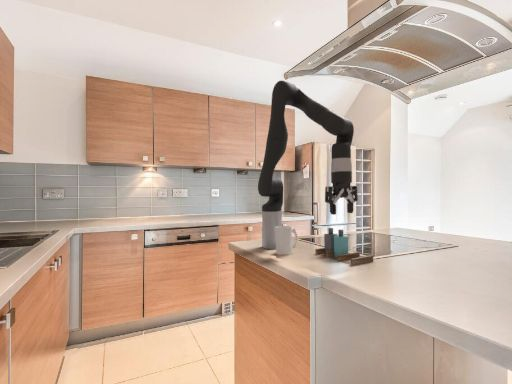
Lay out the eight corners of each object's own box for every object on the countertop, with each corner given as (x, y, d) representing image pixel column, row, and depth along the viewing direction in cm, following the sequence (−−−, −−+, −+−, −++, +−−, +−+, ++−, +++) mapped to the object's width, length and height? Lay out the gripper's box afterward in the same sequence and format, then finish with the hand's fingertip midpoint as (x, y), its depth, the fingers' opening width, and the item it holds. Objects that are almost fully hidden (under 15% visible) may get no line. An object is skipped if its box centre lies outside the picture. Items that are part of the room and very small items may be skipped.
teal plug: (334, 256, 108) (333, 229, 108) (341, 255, 110) (340, 228, 109) (341, 258, 105) (340, 230, 105) (348, 257, 106) (347, 230, 106)
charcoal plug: (324, 253, 113) (324, 228, 113) (331, 252, 115) (331, 227, 114) (330, 255, 110) (330, 229, 110) (337, 254, 111) (337, 228, 111)
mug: (281, 258, 111) (280, 228, 111) (272, 255, 117) (272, 226, 117) (302, 255, 116) (301, 226, 116) (293, 252, 122) (292, 224, 122)
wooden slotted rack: (315, 257, 113) (315, 249, 113) (334, 253, 118) (334, 246, 118) (352, 268, 96) (352, 259, 96) (373, 264, 100) (373, 255, 100)
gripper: (347, 171, 113) (348, 211, 113) (319, 171, 106) (320, 214, 106) (362, 170, 106) (363, 213, 106) (334, 169, 100) (334, 215, 100)
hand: (341, 213), depth 106 cm, fingers open, 8 cm apart
